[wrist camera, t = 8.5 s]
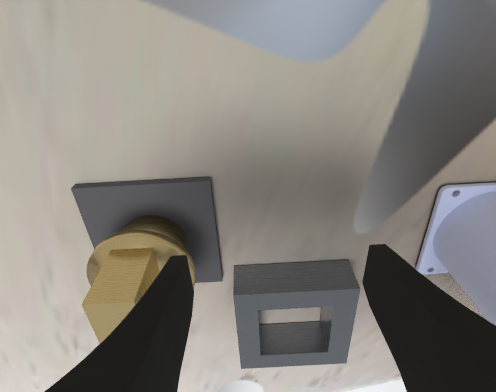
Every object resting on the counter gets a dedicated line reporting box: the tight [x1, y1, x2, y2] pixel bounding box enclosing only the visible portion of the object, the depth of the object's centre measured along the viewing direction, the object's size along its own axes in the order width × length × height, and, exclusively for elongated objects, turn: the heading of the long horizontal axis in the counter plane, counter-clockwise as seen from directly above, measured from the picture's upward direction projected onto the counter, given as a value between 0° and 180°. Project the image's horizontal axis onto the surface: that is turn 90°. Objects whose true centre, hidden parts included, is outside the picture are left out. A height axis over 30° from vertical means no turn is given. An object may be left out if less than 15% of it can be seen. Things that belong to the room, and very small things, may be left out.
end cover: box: [82, 215, 196, 343], centre depth 20 cm, size 7×7×8 cm
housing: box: [234, 260, 360, 369], centre depth 26 cm, size 9×9×3 cm
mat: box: [71, 177, 223, 283], centre depth 23 cm, size 9×9×1 cm
